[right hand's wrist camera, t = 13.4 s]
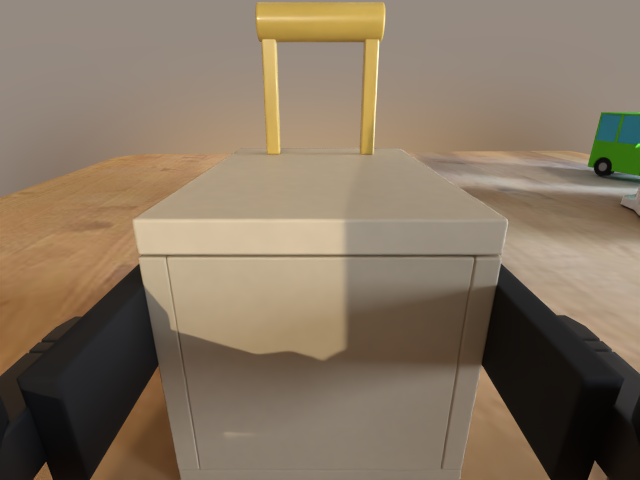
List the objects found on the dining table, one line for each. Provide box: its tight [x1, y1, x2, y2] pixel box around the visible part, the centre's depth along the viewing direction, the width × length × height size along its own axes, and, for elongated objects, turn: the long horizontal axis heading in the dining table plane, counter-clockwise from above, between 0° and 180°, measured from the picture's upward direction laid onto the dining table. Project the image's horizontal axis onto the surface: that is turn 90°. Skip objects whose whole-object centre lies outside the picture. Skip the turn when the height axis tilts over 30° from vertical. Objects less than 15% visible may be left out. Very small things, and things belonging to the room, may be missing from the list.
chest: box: [138, 254, 501, 480], centre depth 18 cm, size 14×10×9 cm
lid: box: [132, 2, 508, 255], centre depth 15 cm, size 14×10×8 cm
